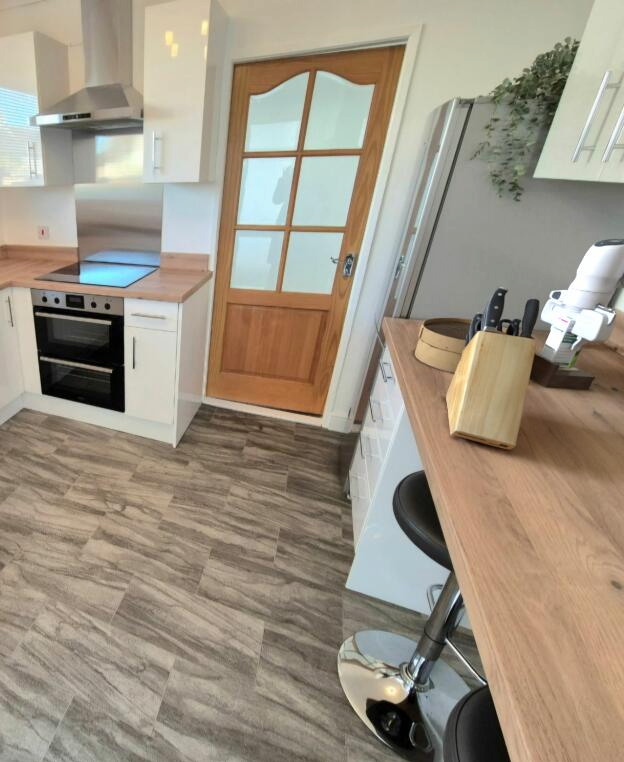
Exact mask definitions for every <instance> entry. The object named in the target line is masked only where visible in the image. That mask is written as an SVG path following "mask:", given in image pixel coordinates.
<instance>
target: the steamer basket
mask: <svg viewBox="0 0 624 762" xmlns="http://www.w3.org/2000/svg"><path fill="white" fill-rule="evenodd" d="M472 320H473V319H470V318H461V317H433V318H429V319H426V320H423V321H422V322H421V325H420V328H419V332H418V335H417V337H418V342H417V344H416V348H415V350H414V356H415V357H416V359H417V360H418V361H420V362H422V363H423V364H425V365H427V366H430V367H432V368H435V369H438V370H441V371H445V372H448V373H452V374H455V371H456V369H457V366H458V364H459V362H460V360H461V357H462V353H463V350H464V346H465V342H466V337H467V334H468V333H470V326H471V322H472ZM507 328H508V327H504V326H502V333H505V334H506V331H507ZM496 330H497V327H496ZM519 336H520V335H519ZM519 336H518V337H519Z"/></svg>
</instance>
